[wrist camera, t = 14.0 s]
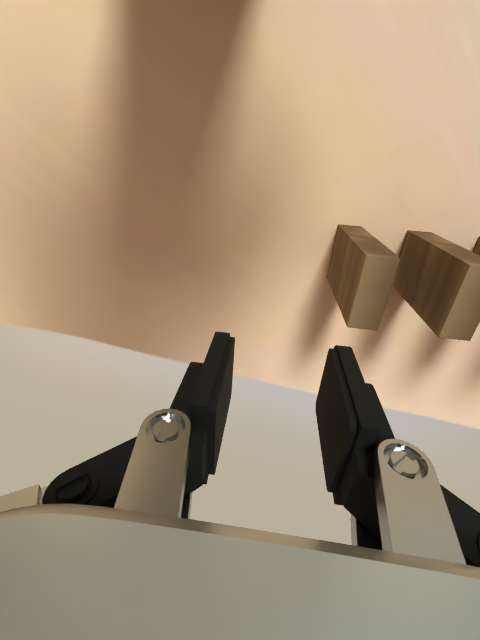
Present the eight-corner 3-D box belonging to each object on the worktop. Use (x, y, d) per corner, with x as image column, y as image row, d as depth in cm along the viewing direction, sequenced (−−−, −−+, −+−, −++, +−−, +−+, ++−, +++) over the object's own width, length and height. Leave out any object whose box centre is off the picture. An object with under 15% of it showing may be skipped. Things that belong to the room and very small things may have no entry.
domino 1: (327, 277, 29) (347, 327, 21) (338, 224, 27) (366, 255, 18) (348, 279, 29) (377, 330, 20) (361, 226, 27) (400, 258, 18)
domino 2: (390, 283, 29) (438, 337, 20) (407, 230, 27) (470, 265, 18) (412, 285, 29) (470, 340, 20) (431, 232, 26) (506, 268, 18)
